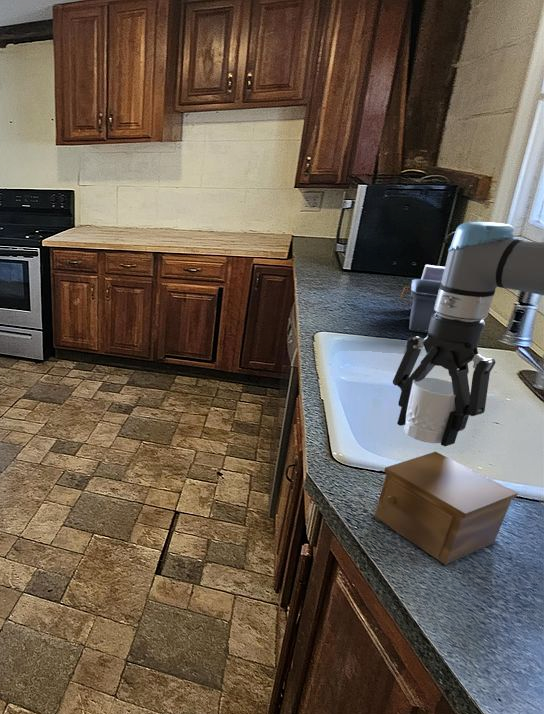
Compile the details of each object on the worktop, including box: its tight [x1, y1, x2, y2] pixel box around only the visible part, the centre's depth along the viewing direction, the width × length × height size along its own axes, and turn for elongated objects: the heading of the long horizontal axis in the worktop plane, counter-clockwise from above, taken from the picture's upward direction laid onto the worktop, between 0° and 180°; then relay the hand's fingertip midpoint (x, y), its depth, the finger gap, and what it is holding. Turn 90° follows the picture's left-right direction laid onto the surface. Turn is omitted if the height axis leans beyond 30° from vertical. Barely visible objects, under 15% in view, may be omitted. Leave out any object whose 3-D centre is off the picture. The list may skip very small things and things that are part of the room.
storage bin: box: [400, 278, 441, 334], centre depth 182 cm, size 21×16×14 cm
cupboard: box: [373, 451, 519, 566], centre depth 85 cm, size 13×14×10 cm
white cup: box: [403, 376, 456, 444], centre depth 96 cm, size 8×8×10 cm
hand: (424, 433), depth 98 cm, fingers closed on white cup, 8 cm apart
